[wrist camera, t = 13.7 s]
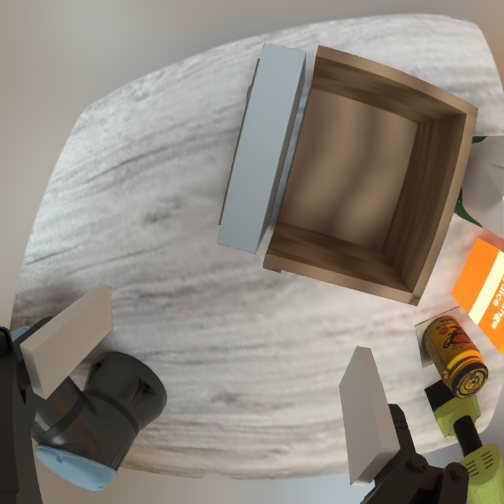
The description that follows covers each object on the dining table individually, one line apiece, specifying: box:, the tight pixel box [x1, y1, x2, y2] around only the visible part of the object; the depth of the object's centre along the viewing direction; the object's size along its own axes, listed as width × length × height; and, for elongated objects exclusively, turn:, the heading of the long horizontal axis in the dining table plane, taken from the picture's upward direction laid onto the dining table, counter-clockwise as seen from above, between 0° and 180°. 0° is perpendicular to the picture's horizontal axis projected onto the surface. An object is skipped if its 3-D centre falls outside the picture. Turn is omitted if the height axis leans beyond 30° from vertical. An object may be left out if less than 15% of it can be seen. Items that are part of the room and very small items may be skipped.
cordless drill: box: [425, 380, 504, 504], centre depth 30 cm, size 23×7×25 cm, turn 37°
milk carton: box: [454, 136, 504, 239], centre depth 22 cm, size 9×9×20 cm
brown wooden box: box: [219, 45, 478, 306], centre depth 28 cm, size 20×20×13 cm
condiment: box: [415, 307, 488, 398], centre depth 33 cm, size 7×8×12 cm
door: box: [217, 43, 306, 254], centre depth 29 cm, size 5×18×11 cm, turn 167°
